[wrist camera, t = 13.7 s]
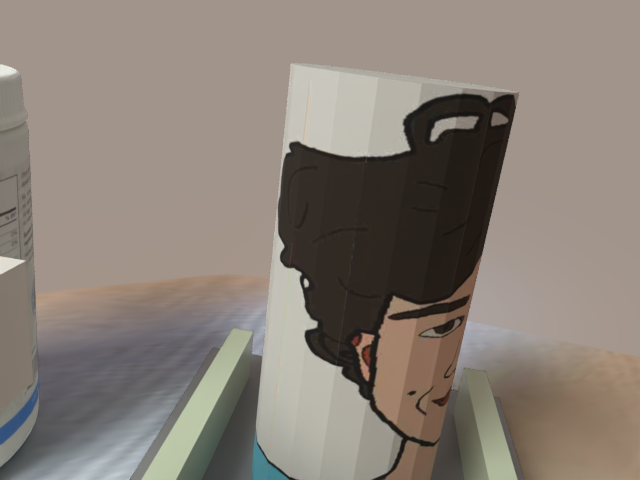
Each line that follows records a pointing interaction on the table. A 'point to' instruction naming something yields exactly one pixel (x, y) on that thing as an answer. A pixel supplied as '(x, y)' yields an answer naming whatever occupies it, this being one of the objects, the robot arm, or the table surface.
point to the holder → (241, 413)
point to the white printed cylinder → (373, 269)
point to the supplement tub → (17, 244)
